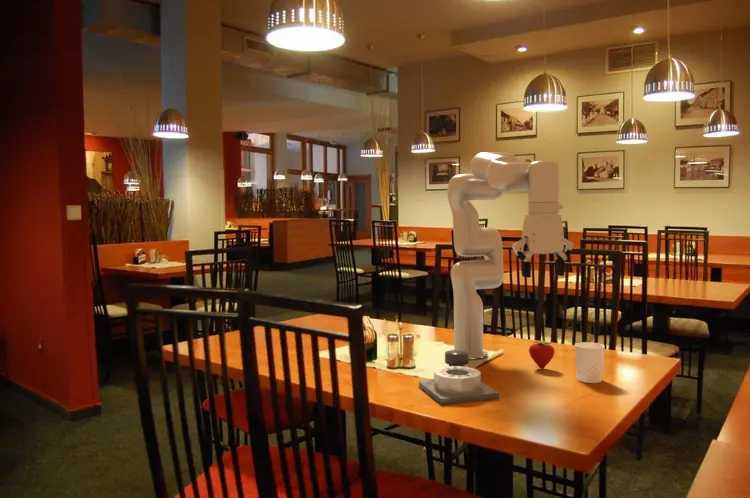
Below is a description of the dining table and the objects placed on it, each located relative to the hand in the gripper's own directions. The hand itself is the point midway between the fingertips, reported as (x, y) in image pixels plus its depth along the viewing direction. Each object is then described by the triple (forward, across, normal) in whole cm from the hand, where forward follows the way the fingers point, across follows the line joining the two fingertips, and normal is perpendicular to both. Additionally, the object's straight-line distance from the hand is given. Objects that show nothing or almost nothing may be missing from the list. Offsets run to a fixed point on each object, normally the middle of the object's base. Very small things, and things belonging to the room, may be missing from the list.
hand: (543, 276), depth 153 cm
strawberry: (+31, -14, -23) cm, 41 cm away
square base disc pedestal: (+31, +20, -9) cm, 38 cm away
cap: (+31, +14, -23) cm, 41 cm away
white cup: (+31, -20, -8) cm, 38 cm away
